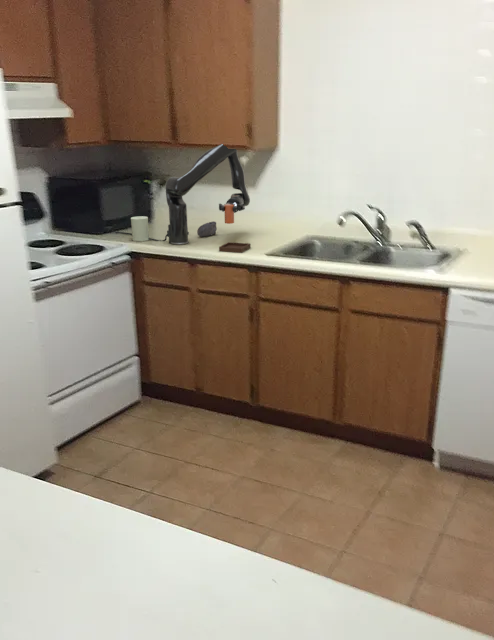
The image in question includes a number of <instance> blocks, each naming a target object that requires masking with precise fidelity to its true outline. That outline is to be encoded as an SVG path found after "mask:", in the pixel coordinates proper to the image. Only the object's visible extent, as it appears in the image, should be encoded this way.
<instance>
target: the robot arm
mask: <svg viewBox="0 0 494 640" xmlns="http://www.w3.org/2000/svg"><path fill="white" fill-rule="evenodd" d="M226 159H227V160H228V164H229V169H230V178H231V186H232V189H234V190H238V191H240V192H236V193H235V192H234V193H232V194H231V195H230V198H228V199H227V200H226V202H225V203H224V204H222V203H218V210H219V212H220V211H221V212H223V213H225V211H224V205H225V204H234V207H233V212H234V214H236V213H238V212H241V211H244V210H246V207H249V205H250V202H251V198H250V194H249V192H248V190H247V186H246V180H245V171H244V168H243V165H242V163H241V161H240V159H239V155H238V150H236V149H228V148H227V147H226V146H224V145H223V144H222V143H220V144H218V145H217V146H214V147H212V148H210V149H208V150H206V151H205V152H203V153H202V154H201V155H200V156H198V157H197V158H196V159H195V161H194V163H193V165H192V166H191V169H190V170H188V171H187V172H186V173H185V174H184V175H182V176H169V178H168V179H167V180H166V183H165V197H166V204H167V206H168V218H169V220H168V221H169V224H168V225H167V230H166V234H165V236H164V239H162V240H161V239H155V238H153V237H151V238H150V237H149V240H148V241H155V242H165V241H167V238H168V244H171V245H175V246H176V245H187V244H189V234H190V232H189V225H188V224H189V223H188V206H187V203H186V202H185V200H184V198H183V197H184V196H185V195H187V194H188V193H189V192H190V191H191V190H192V189H193V188H194V186H196V185H197V183H199V182H200V181H201V180H202V179H204V178H205V177H206V176H208V175H209V174H210V173H211V172H213V170H215V169H216V168H217V167H218V166H219V165H220V164H222V163H223V162H224V161H225V160H226ZM111 230H112V231H109V230H107V231H106V234H108V233H109V232H111V233H115V234H122V235H123V234H124V235H130V236H132V232H125V231H116V230H113V229H111Z"/></svg>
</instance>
